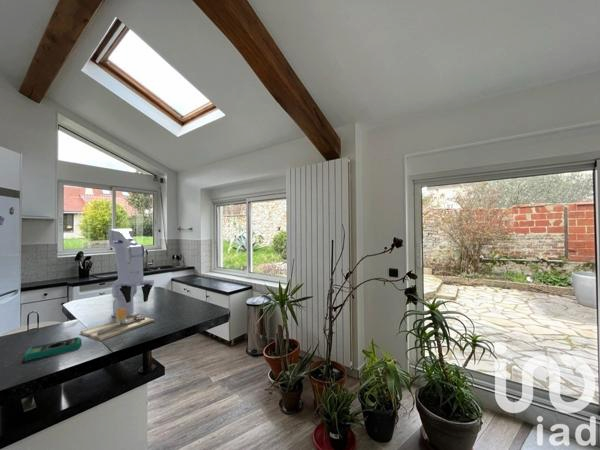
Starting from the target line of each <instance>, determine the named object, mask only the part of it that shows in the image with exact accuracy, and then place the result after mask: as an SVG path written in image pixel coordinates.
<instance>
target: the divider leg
mask: <svg viewBox="0 0 600 450" xmlns="http://www.w3.org/2000/svg"><path fill="white" fill-rule="evenodd" d="M115 320H116V322H119V323H120V324H123V323H127V322H129V320H126V308H121V309H118V310H116V317H115Z"/></svg>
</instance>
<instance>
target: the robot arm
mask: <svg viewBox="0 0 600 450" xmlns="http://www.w3.org/2000/svg"><path fill="white" fill-rule="evenodd" d="M108 243H109V246H110V247H112V248H114V249H113V250H114V253H115V262H116V269H117V271H116V272H117V279H116V280H115V281H114V282H112V284H111V294H112V298H114V300H113V302H112V313H111V315H110V316H112V317H115V318H116V310H118V309H121V308H126V317H128V316H130V315H131V314H134V313H139V312H138V311H135V310H134V305H135V304H134V297H135V295H136V294H137V292H138V287H139V286H141V289H142V295H143V296H142V298H143V302H144V303H146V302H148V300H149V296H150V293H151V290H152V289H153V286H154V284H155V281H154V279H151V280H150V279H145V278H144V262H143V261H144V259H143V257H145V246H144V245H143V244H139V243H138V242H137V240H136V239H135V238H134V231H133V229H132V227H131V228H130V227H129V228H110V229H109V230H108Z"/></svg>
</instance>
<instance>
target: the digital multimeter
mask: <svg viewBox="0 0 600 450" xmlns="http://www.w3.org/2000/svg"><path fill="white" fill-rule="evenodd" d="M82 341H83V340H82V338H81V337H79V336H78V337H73V338H69V339H64V340H60V341H56V342H55V341H54V342H51V343H45V344H40V345H36V346H31V347H30V348H28V349H27V350H26V352H25V354H24V362H27V361H26V360H30V361H32V360H31V359H34V360H36V359H35V358H38V359H41V357H42V358H46V357H50V356H54V354H55V355H57V354H58V355H59V354H62V353H66V352H71V351H76V350H79V349H81V346H82V345H83V344H82ZM49 355H50V356H49ZM45 356H46V357H45Z"/></svg>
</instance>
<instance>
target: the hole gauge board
mask: <svg viewBox="0 0 600 450" xmlns="http://www.w3.org/2000/svg"><path fill="white" fill-rule="evenodd" d="M126 320H129V322H127V323H123V324H120V323H119V322H116V319H115V320H113V321H109V322H106V323H103V324H100V325H96V326H93V327H90V328H87V329H84V330H80V332H79V333H80V334H81V335H83V336H86V337H88V338H91V339H95V340H97V341H101V342H102V341H104V340H106V339H109V338H112V337H115V336H118V335H121V334H123V333H126V332H129V331H132V330H135V329H137V328H140V327H142V326H145V325H148V324H151V323H154V322H155V319H154V318H150V317H146V316H145V317H144V316H143V315H140V313H139V312H138V313H134V314H131V315H130V316H127V317H126Z"/></svg>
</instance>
